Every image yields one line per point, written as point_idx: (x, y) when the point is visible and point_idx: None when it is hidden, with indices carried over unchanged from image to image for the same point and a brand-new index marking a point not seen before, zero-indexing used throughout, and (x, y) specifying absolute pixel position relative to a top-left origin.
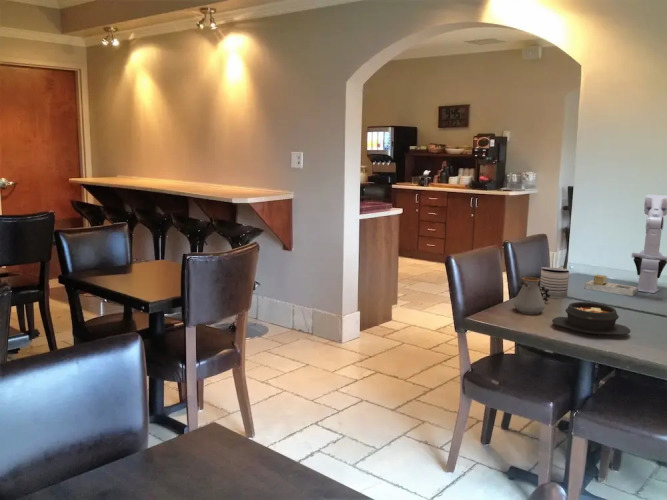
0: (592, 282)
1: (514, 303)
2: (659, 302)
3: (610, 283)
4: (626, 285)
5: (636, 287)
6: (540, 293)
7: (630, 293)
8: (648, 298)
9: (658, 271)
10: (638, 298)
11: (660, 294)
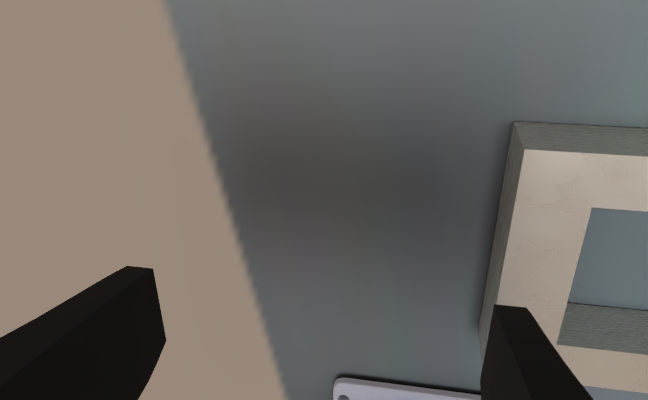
0: None
1: None
2: (187, 11)
3: None
4: (621, 388)
5: None
6: None
7: (546, 135)
8: (333, 139)
9: (46, 341)
10: (430, 51)
11: (287, 377)
